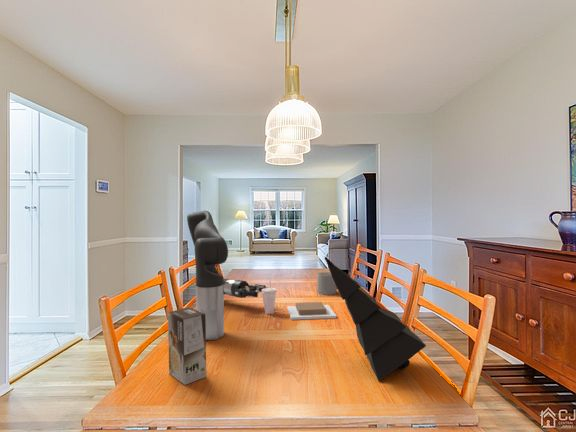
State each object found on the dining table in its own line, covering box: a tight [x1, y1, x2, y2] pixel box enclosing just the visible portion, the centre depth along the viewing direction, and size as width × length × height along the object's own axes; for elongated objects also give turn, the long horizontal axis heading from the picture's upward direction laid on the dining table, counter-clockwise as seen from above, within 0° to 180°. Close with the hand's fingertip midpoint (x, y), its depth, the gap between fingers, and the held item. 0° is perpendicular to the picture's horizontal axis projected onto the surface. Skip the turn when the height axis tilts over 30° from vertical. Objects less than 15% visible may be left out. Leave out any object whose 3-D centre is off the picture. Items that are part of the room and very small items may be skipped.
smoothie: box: [261, 278, 278, 315], centre depth 139 cm, size 6×6×14 cm
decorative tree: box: [324, 256, 427, 382], centre depth 88 cm, size 15×15×35 cm
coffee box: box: [167, 307, 207, 386], centre depth 85 cm, size 9×6×16 cm
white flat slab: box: [286, 301, 337, 321], centre depth 138 cm, size 16×18×3 cm
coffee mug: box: [316, 271, 338, 296], centre depth 173 cm, size 13×10×10 cm
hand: (263, 292), depth 141 cm, fingers open, 8 cm apart
